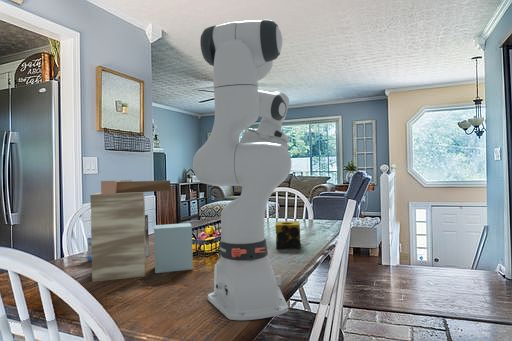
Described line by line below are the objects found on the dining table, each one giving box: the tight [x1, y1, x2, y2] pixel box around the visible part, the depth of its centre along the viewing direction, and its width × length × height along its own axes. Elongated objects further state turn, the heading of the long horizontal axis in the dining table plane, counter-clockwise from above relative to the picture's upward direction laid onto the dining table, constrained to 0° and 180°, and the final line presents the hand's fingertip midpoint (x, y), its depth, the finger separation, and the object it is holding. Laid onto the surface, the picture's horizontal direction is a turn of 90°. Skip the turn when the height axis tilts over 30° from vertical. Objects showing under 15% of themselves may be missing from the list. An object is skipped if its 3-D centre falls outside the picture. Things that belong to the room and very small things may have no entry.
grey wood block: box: [89, 192, 147, 283], centre depth 112 cm, size 13×15×26 cm
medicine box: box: [86, 236, 92, 262], centre depth 130 cm, size 8×4×9 cm, turn 62°
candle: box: [275, 220, 301, 250], centre depth 146 cm, size 10×10×10 cm
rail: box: [117, 179, 171, 193], centre depth 114 cm, size 3×19×4 cm, turn 106°
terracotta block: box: [100, 180, 118, 194], centre depth 107 cm, size 4×4×4 cm
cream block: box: [117, 179, 133, 182], centre depth 116 cm, size 4×4×4 cm
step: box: [153, 222, 194, 274], centre depth 116 cm, size 8×12×14 cm, turn 106°
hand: (256, 165), depth 136 cm, fingers open, 8 cm apart
